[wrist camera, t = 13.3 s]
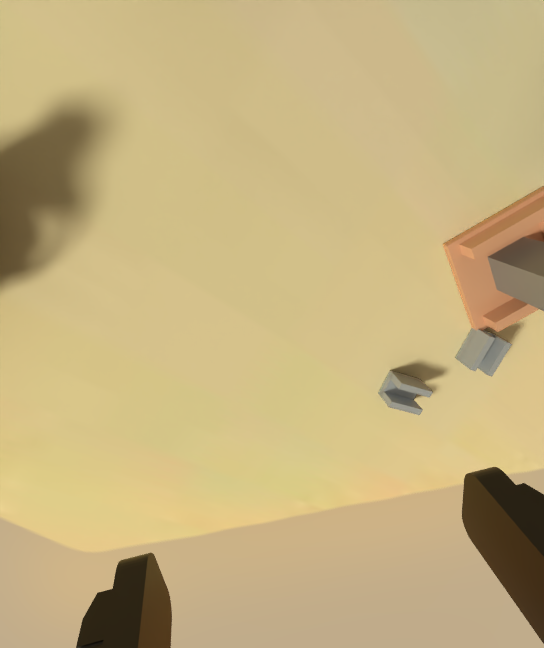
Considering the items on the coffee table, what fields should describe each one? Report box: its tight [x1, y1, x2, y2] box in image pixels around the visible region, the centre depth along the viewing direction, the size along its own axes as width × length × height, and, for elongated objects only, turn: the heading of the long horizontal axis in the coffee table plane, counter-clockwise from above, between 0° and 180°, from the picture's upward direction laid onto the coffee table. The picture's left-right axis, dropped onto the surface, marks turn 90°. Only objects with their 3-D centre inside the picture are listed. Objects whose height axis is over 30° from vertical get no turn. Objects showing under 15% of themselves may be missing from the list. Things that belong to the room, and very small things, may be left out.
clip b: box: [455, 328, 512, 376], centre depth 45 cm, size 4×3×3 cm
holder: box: [443, 187, 544, 332], centre depth 41 cm, size 11×11×3 cm
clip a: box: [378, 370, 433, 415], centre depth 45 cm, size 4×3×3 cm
